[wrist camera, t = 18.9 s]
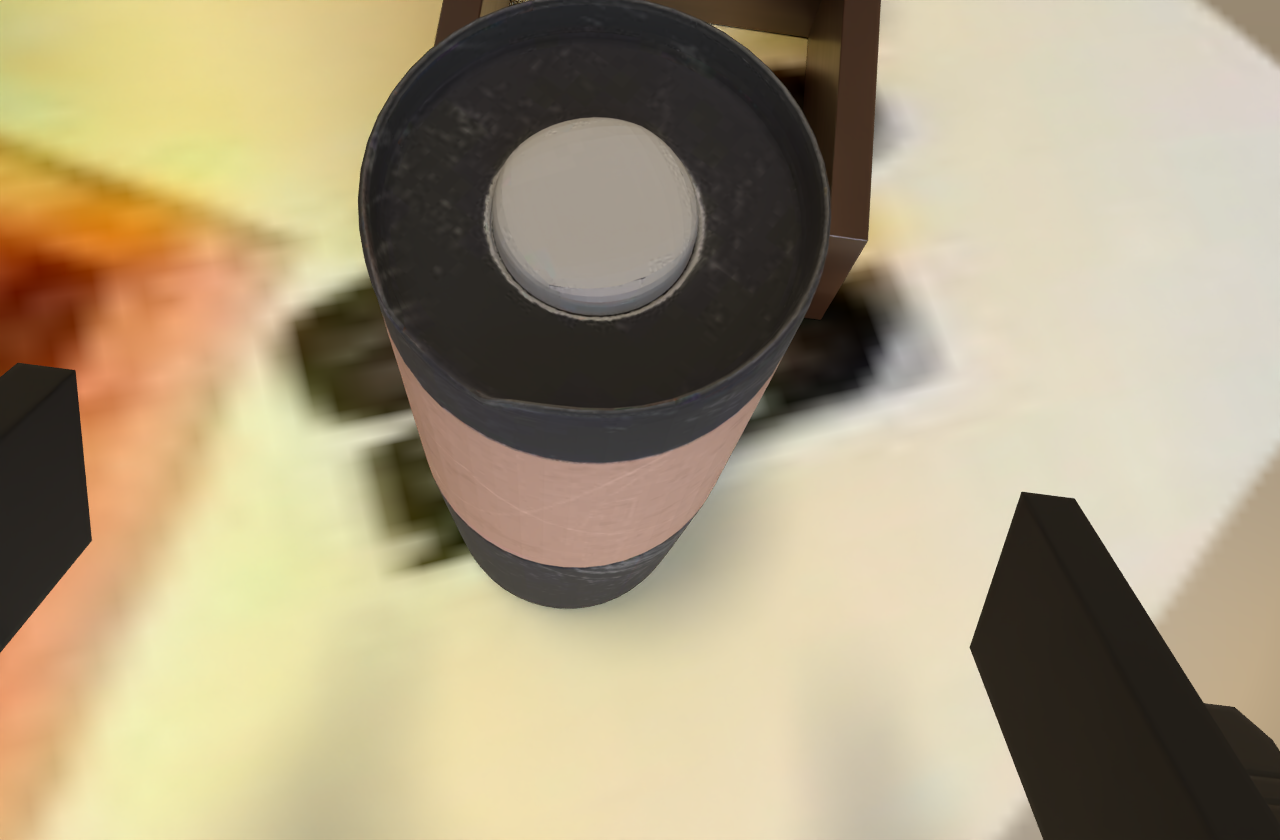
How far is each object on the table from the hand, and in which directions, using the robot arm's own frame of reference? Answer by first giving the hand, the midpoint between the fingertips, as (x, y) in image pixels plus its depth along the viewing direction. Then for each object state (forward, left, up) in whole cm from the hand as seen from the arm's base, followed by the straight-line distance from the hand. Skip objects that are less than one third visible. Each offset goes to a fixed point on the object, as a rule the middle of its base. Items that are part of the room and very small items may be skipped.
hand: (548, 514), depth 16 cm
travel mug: (0, +5, -20) cm, 21 cm away
